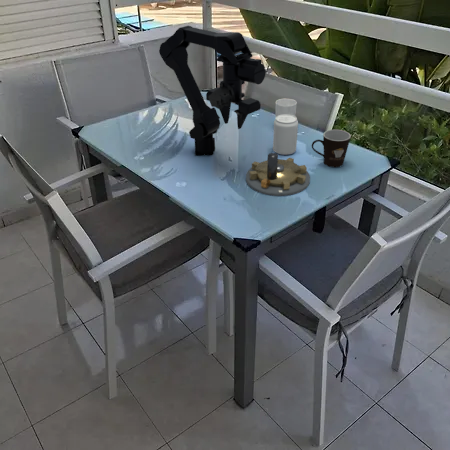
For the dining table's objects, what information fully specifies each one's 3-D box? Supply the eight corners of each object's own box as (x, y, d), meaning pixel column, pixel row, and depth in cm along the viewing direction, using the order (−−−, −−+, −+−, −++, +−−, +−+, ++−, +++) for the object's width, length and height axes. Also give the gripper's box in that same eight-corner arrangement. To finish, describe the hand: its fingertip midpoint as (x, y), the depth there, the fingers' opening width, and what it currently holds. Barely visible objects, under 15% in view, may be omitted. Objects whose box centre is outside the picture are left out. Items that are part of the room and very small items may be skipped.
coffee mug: (348, 158, 161) (352, 131, 155) (344, 170, 154) (348, 142, 149) (313, 154, 164) (316, 127, 159) (309, 165, 158) (311, 137, 152)
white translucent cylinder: (272, 123, 186) (273, 98, 180) (292, 122, 187) (294, 97, 181) (276, 132, 180) (277, 106, 174) (296, 130, 180) (298, 105, 175)
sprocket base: (246, 196, 143) (247, 192, 142) (245, 164, 159) (245, 161, 158) (314, 195, 142) (314, 191, 142) (305, 163, 159) (305, 160, 158)
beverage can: (295, 156, 163) (297, 123, 156) (271, 155, 164) (272, 122, 158) (296, 146, 170) (299, 114, 163) (274, 144, 171) (275, 113, 164)
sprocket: (250, 190, 143) (250, 162, 137) (248, 162, 157) (248, 135, 152) (310, 189, 142) (313, 161, 137) (303, 161, 157) (305, 134, 152)
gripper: (192, 77, 145) (194, 125, 154) (235, 91, 134) (236, 142, 143) (218, 68, 151) (219, 115, 160) (262, 82, 140) (261, 131, 149)
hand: (232, 125), depth 153 cm, fingers open, 6 cm apart
